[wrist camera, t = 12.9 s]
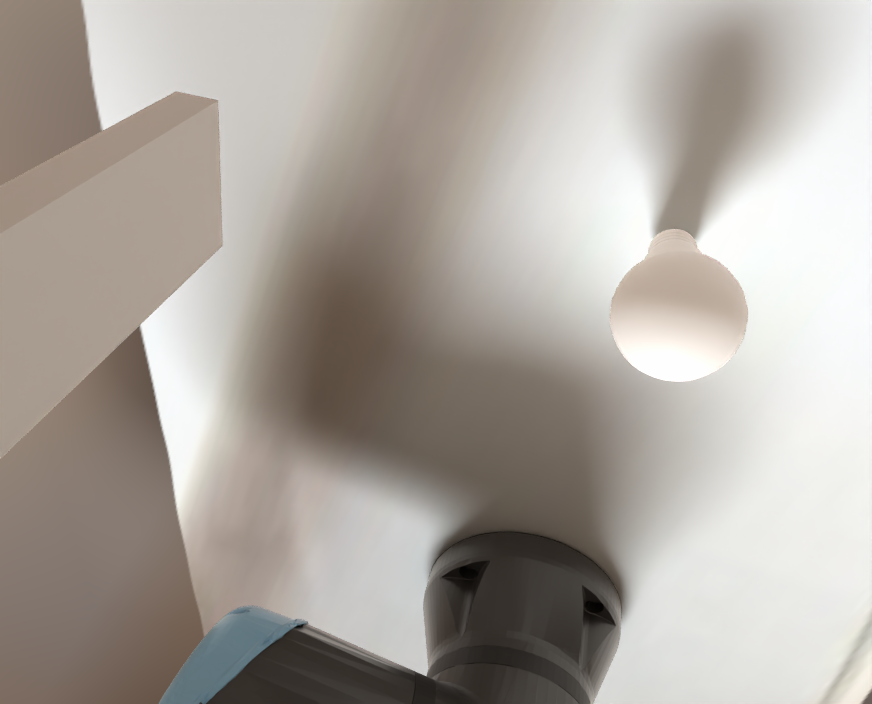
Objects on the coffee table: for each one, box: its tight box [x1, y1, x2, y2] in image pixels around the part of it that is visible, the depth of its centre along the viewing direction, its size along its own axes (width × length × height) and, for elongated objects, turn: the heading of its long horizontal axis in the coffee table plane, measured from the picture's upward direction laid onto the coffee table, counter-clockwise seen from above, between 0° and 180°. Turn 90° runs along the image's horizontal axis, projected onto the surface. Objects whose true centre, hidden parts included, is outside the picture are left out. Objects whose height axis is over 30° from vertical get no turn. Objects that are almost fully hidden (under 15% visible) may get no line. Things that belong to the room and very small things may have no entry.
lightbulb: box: [610, 229, 748, 382], centre depth 38 cm, size 6×6×11 cm
